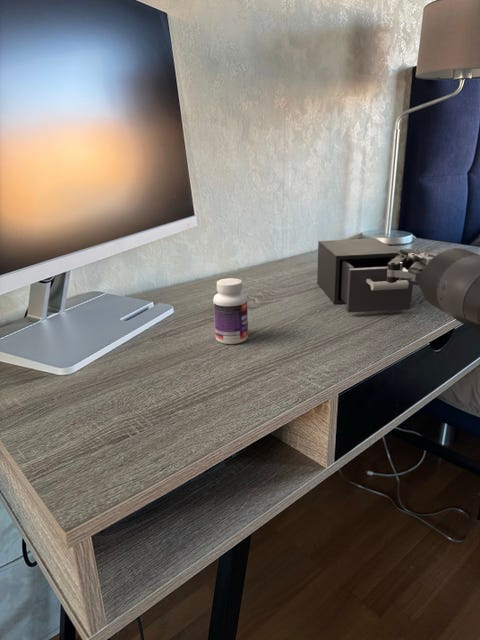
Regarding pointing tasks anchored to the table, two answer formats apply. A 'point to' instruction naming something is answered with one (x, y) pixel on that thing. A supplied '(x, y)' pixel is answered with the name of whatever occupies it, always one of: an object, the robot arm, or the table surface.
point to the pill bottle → (230, 312)
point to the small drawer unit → (345, 250)
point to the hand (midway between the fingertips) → (404, 255)
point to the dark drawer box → (372, 286)
